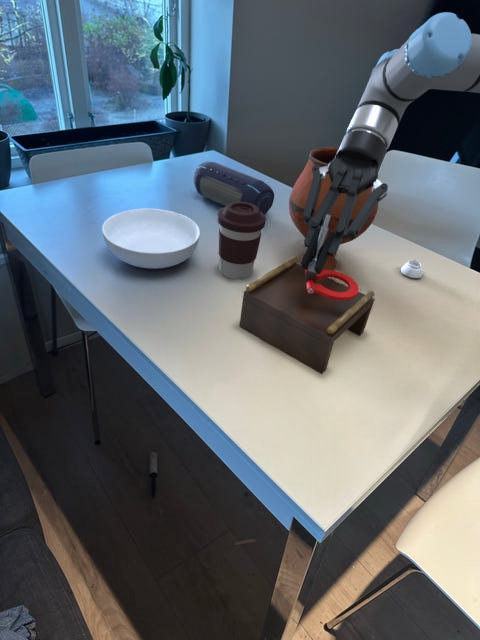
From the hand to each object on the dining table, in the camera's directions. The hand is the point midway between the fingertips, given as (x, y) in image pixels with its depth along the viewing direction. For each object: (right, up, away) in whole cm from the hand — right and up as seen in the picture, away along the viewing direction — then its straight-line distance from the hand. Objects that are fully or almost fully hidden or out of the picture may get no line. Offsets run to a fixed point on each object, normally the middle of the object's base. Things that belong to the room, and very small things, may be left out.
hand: (310, 268), depth 73 cm
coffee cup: (-13, +2, +27) cm, 30 cm away
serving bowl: (-31, +6, +28) cm, 43 cm away
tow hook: (+4, -3, +4) cm, 7 cm away
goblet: (+7, +5, +34) cm, 35 cm away
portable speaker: (-14, +24, +55) cm, 62 cm away
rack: (0, -10, +12) cm, 16 cm away
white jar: (+29, +3, +34) cm, 45 cm away
